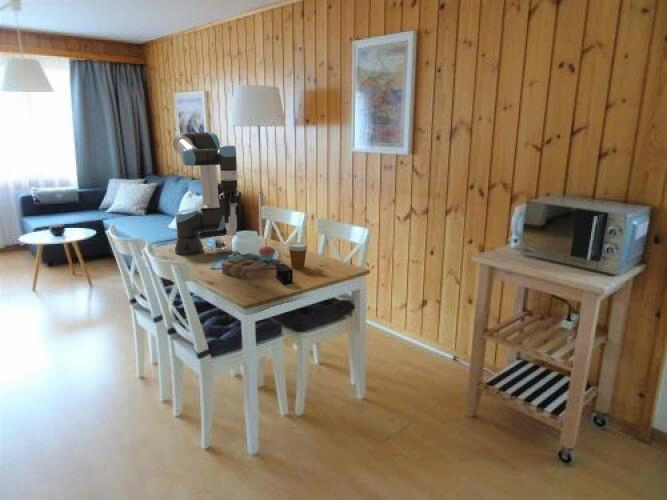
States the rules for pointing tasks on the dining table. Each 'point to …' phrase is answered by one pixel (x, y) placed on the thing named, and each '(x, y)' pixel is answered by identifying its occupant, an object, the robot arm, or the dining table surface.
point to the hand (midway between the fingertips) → (231, 228)
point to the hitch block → (244, 268)
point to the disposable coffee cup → (297, 254)
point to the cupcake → (266, 252)
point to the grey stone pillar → (232, 219)
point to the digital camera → (284, 274)
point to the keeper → (235, 258)
